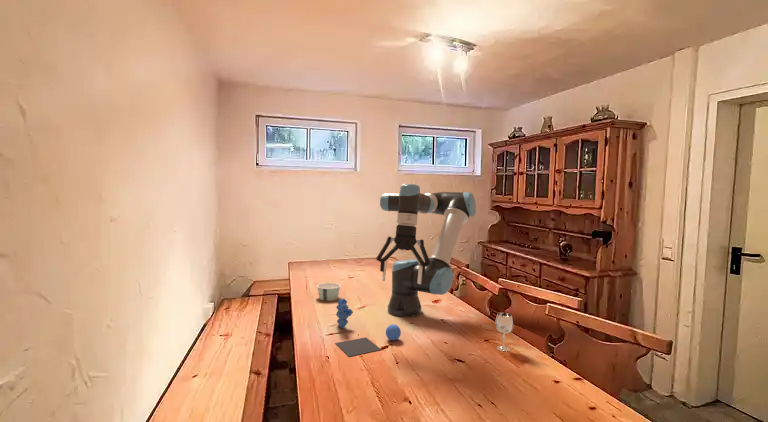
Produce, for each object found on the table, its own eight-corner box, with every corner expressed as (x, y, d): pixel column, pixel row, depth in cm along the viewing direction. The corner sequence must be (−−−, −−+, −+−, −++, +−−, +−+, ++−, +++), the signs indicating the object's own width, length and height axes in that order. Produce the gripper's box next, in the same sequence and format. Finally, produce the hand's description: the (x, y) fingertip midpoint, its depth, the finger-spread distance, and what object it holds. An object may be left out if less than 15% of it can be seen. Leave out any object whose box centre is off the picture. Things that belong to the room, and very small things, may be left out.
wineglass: (512, 347, 131) (513, 313, 131) (512, 353, 126) (513, 318, 125) (495, 344, 133) (496, 311, 132) (494, 351, 128) (495, 316, 127)
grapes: (356, 332, 143) (356, 301, 142) (338, 333, 141) (339, 302, 140) (349, 322, 154) (350, 293, 153) (333, 323, 152) (333, 294, 151)
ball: (395, 335, 140) (396, 321, 139) (403, 341, 135) (403, 326, 135) (382, 338, 137) (383, 323, 137) (390, 343, 132) (390, 328, 132)
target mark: (365, 337, 137) (365, 337, 137) (381, 350, 127) (381, 349, 127) (335, 343, 132) (335, 343, 132) (348, 356, 121) (348, 356, 121)
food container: (339, 302, 182) (339, 288, 182) (314, 301, 182) (314, 288, 182) (342, 295, 194) (342, 282, 194) (318, 294, 194) (319, 282, 194)
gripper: (375, 221, 135) (369, 280, 134) (441, 228, 139) (436, 286, 137) (372, 222, 143) (367, 278, 141) (435, 228, 146) (431, 283, 145)
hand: (401, 282), depth 139 cm, fingers open, 13 cm apart
